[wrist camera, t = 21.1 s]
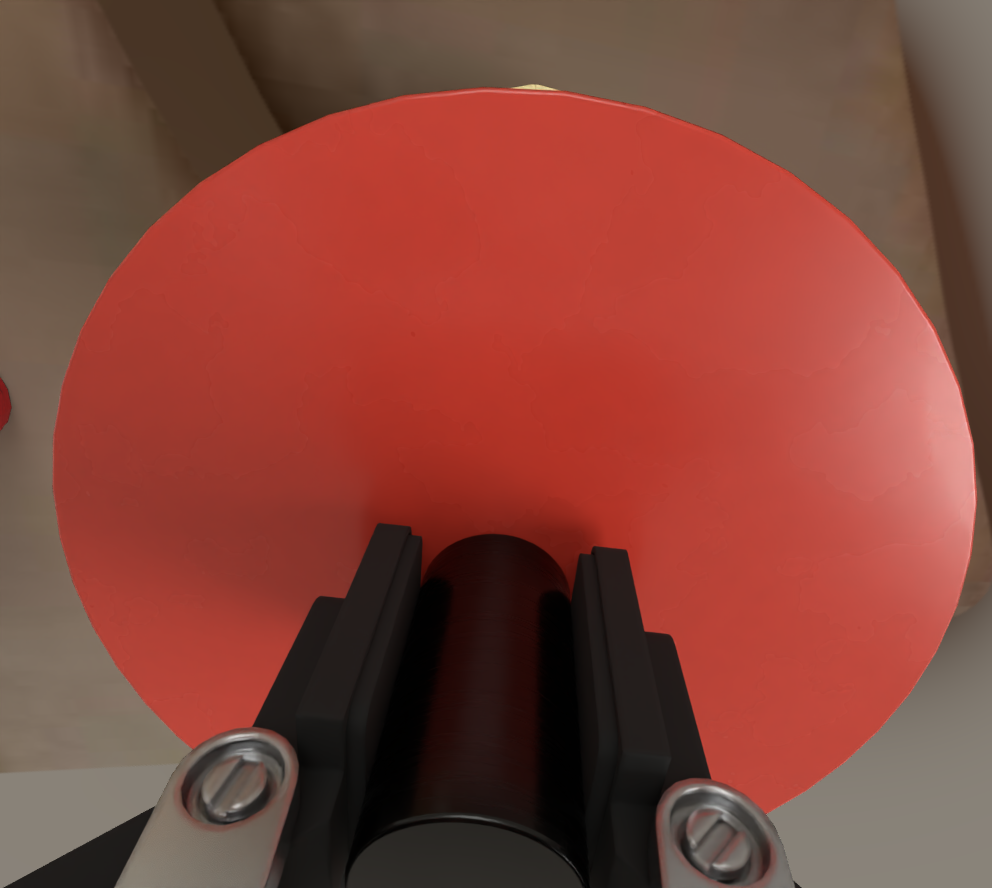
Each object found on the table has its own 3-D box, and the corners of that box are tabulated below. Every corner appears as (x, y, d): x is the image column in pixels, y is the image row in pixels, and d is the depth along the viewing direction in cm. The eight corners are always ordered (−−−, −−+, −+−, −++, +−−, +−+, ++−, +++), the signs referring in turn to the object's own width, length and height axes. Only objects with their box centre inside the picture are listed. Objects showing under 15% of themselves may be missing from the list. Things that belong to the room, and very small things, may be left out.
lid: (-81, 414, 12) (-648, 661, 6) (725, -188, 8) (1259, -1145, 2) (399, 885, 17) (330, 1250, 11) (1030, 683, 13) (1416, 1105, 7)
